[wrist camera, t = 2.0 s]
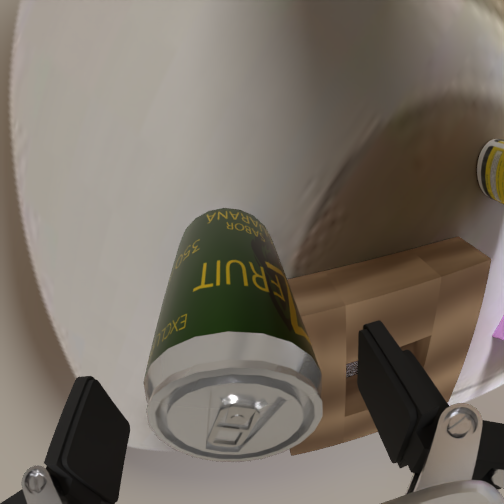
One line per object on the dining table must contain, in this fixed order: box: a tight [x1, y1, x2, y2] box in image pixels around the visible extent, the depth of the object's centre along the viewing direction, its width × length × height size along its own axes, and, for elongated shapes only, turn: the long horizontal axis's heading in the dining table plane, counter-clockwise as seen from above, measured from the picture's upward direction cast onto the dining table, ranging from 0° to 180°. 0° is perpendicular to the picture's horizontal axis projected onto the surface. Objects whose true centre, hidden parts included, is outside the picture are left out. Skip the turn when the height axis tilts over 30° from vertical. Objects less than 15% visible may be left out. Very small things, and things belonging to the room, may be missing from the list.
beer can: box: [144, 208, 323, 462], centre depth 13 cm, size 5×5×12 cm
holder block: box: [287, 236, 491, 455], centre depth 21 cm, size 16×16×4 cm
